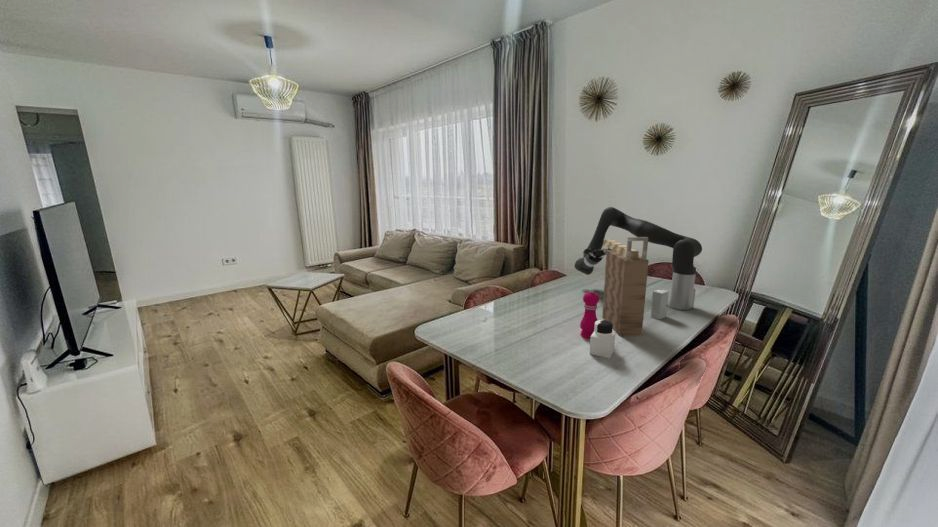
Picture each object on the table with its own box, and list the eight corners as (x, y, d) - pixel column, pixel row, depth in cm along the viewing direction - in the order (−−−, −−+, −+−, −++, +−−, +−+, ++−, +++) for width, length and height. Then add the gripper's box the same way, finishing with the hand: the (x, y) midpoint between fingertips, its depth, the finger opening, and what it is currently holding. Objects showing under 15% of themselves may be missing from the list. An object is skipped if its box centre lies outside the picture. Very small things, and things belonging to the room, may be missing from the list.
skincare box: (659, 319, 159) (662, 293, 157) (649, 316, 163) (652, 291, 160) (667, 316, 163) (669, 291, 160) (657, 313, 166) (659, 288, 164)
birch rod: (603, 245, 169) (603, 238, 168) (610, 245, 169) (610, 238, 168) (629, 259, 140) (630, 251, 139) (638, 258, 140) (638, 251, 139)
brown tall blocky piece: (602, 317, 164) (607, 230, 155) (622, 316, 164) (629, 230, 155) (619, 335, 144) (626, 238, 135) (641, 335, 144) (650, 237, 135)
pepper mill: (589, 341, 140) (591, 292, 135) (575, 334, 146) (577, 287, 142) (602, 337, 143) (605, 289, 139) (588, 331, 149) (591, 285, 145)
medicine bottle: (614, 351, 132) (616, 320, 129) (610, 359, 126) (612, 327, 123) (594, 346, 136) (596, 316, 133) (589, 354, 130) (591, 323, 127)
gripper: (578, 251, 191) (587, 240, 175) (605, 251, 191) (616, 240, 175) (580, 265, 189) (589, 255, 173) (607, 264, 188) (618, 255, 173)
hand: (603, 248), depth 174 cm, fingers open, 8 cm apart
